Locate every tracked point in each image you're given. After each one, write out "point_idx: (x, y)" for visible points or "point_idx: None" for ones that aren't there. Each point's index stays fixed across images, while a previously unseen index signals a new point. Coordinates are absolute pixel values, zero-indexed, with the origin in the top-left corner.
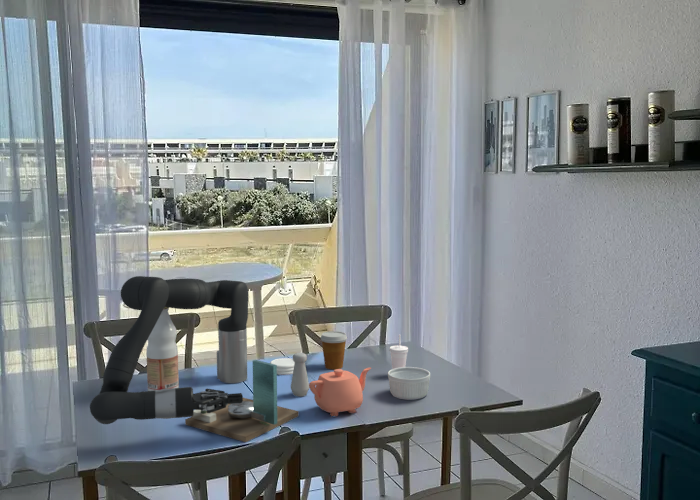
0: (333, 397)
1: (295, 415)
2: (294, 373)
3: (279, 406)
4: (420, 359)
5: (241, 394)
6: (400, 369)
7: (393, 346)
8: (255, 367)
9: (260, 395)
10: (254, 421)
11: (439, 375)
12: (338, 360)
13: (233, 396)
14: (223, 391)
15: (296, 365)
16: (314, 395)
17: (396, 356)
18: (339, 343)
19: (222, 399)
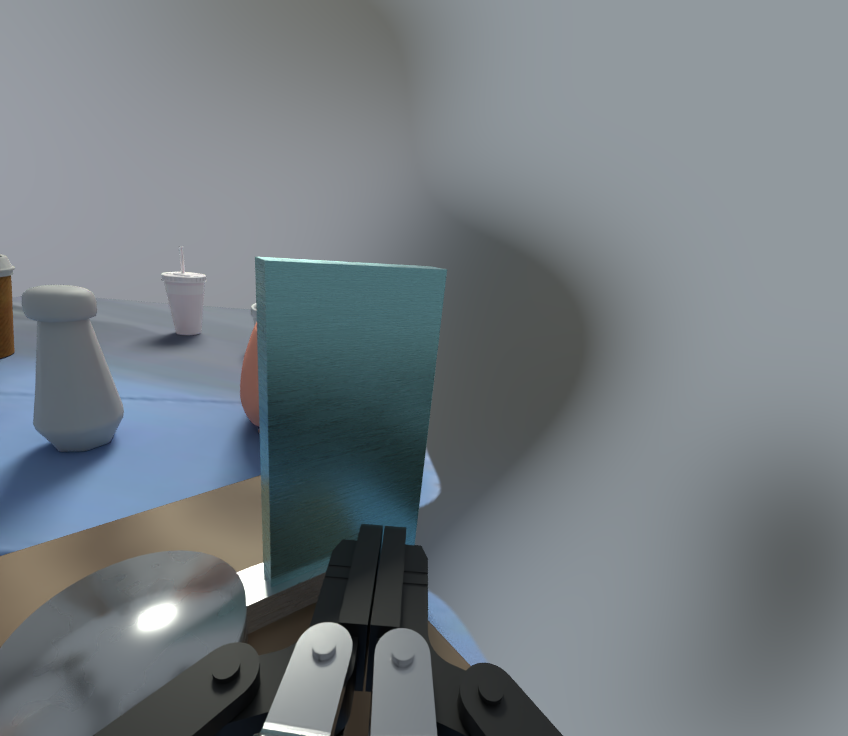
0: None
1: None
2: (61, 369)
3: (184, 499)
4: (143, 308)
5: (394, 527)
6: (255, 307)
7: (165, 274)
8: (296, 309)
9: (335, 471)
10: (296, 627)
11: (242, 319)
12: (7, 330)
13: (403, 589)
14: (226, 656)
15: (66, 334)
16: (254, 402)
17: (194, 291)
18: (4, 279)
19: (543, 714)
